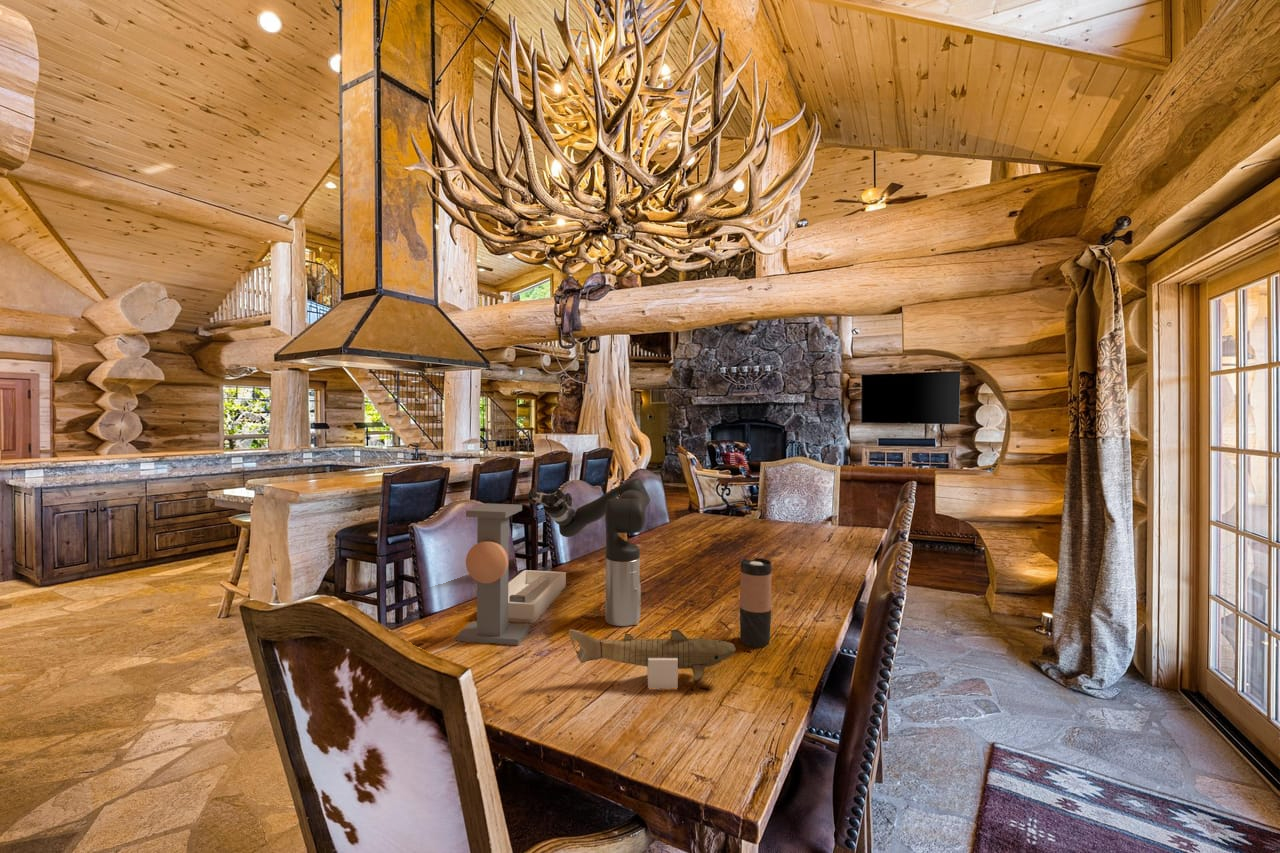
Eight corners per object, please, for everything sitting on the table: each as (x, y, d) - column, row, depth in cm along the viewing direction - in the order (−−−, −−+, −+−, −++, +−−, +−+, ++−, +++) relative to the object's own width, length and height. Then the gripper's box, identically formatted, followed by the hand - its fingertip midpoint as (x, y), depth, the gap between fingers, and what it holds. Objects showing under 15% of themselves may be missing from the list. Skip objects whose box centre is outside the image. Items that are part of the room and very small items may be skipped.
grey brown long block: (550, 587, 168) (550, 575, 168) (522, 611, 147) (522, 597, 147) (538, 586, 169) (539, 574, 169) (509, 610, 147) (509, 596, 147)
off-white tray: (565, 587, 170) (565, 572, 170) (533, 623, 141) (534, 604, 141) (524, 585, 172) (524, 570, 172) (484, 619, 143) (484, 601, 143)
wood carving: (570, 671, 114) (570, 620, 114) (730, 671, 115) (731, 621, 115) (565, 693, 105) (565, 638, 105) (739, 693, 106) (739, 638, 106)
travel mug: (762, 651, 125) (764, 567, 125) (733, 642, 130) (734, 562, 129) (775, 640, 131) (776, 560, 131) (747, 632, 136) (748, 555, 136)
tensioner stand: (532, 629, 137) (533, 505, 136) (516, 647, 126) (517, 512, 125) (474, 625, 139) (474, 503, 138) (453, 642, 128) (454, 510, 128)
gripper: (539, 497, 188) (525, 479, 173) (578, 498, 186) (567, 480, 171) (535, 517, 184) (521, 501, 170) (575, 518, 182) (564, 502, 168)
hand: (544, 491), depth 171 cm, fingers open, 8 cm apart
